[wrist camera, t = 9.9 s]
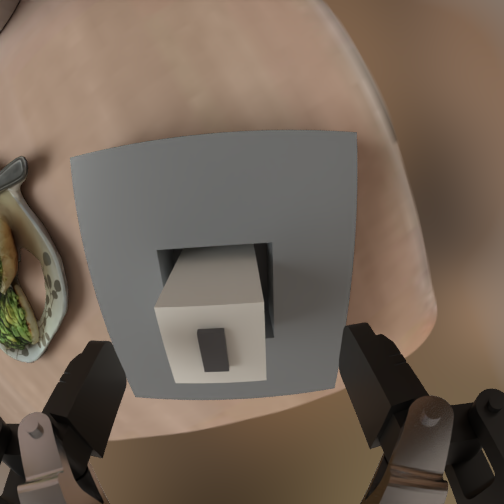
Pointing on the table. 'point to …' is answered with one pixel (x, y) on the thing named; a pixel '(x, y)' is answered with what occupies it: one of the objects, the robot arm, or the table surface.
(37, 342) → the avocado toast plate
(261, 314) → the block
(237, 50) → the table surface
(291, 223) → the outlet box
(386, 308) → the table surface
